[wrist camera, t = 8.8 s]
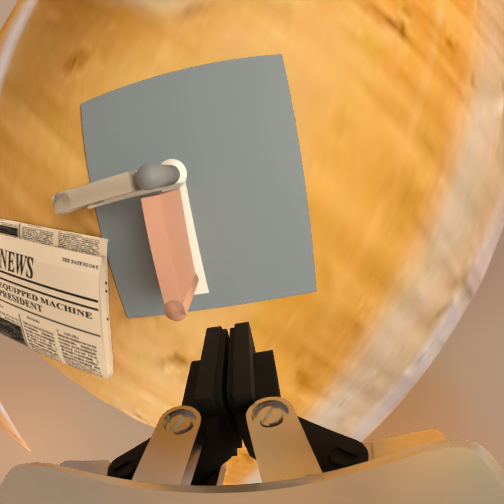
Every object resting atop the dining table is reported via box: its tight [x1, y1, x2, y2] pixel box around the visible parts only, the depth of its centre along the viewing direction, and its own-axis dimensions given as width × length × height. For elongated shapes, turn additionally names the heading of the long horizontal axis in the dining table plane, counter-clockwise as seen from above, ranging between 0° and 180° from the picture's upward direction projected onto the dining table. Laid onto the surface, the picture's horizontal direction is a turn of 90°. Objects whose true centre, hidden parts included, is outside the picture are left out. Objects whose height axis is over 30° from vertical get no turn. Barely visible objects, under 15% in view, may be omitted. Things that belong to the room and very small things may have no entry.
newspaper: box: [0, 218, 113, 379], centre depth 28 cm, size 37×19×3 cm, turn 80°
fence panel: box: [135, 164, 199, 321], centre depth 24 cm, size 13×2×7 cm, turn 7°
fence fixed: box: [52, 171, 143, 214], centre depth 23 cm, size 2×8×8 cm, turn 99°
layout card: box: [81, 54, 317, 318], centre depth 27 cm, size 26×24×1 cm
